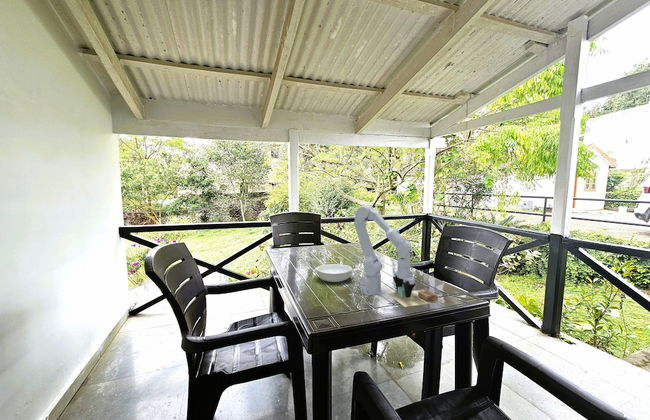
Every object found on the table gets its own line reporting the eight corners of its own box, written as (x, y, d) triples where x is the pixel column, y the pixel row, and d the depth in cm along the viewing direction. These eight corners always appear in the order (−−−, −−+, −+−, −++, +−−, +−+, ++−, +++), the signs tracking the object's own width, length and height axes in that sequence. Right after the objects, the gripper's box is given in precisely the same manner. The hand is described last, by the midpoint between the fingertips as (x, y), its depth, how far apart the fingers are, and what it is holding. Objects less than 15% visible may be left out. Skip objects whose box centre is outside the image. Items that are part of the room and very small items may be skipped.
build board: (404, 308, 118) (404, 306, 118) (387, 294, 134) (387, 293, 134) (444, 302, 123) (444, 301, 123) (422, 290, 139) (422, 289, 139)
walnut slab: (426, 301, 123) (426, 296, 123) (418, 297, 129) (418, 291, 129) (437, 300, 125) (437, 295, 125) (429, 295, 130) (429, 290, 130)
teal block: (402, 298, 128) (402, 289, 128) (397, 295, 132) (397, 287, 131) (409, 297, 129) (409, 288, 129) (405, 294, 133) (405, 286, 132)
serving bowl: (357, 277, 162) (357, 265, 162) (343, 288, 144) (343, 275, 143) (326, 272, 172) (326, 262, 172) (309, 282, 154) (309, 270, 153)
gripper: (420, 269, 123) (419, 299, 124) (403, 261, 137) (403, 288, 138) (406, 271, 122) (406, 300, 122) (390, 263, 136) (390, 289, 136)
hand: (403, 294), depth 130 cm, fingers open, 7 cm apart
